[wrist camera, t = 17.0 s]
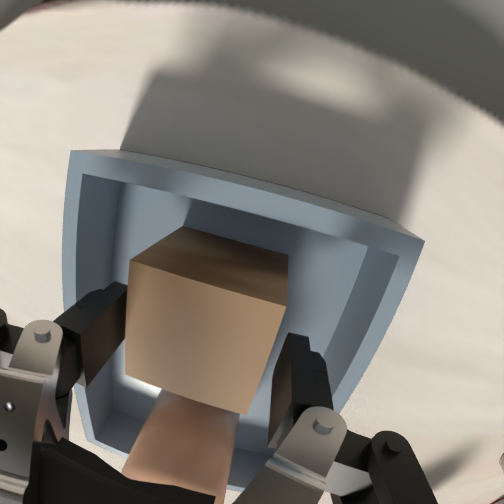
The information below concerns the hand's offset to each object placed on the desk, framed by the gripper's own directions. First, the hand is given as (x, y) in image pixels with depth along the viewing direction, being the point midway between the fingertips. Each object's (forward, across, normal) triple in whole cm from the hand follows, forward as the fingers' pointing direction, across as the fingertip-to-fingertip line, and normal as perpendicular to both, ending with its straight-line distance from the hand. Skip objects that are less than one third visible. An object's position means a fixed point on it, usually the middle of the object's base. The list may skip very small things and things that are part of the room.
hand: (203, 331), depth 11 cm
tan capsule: (+4, 0, +8) cm, 9 cm away
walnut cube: (+4, 0, 0) cm, 4 cm away
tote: (+5, 0, +4) cm, 6 cm away
